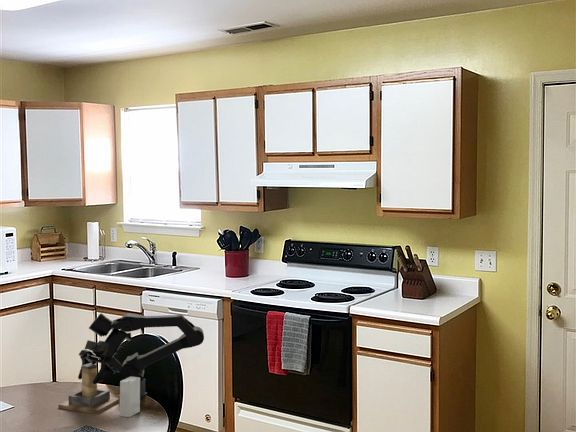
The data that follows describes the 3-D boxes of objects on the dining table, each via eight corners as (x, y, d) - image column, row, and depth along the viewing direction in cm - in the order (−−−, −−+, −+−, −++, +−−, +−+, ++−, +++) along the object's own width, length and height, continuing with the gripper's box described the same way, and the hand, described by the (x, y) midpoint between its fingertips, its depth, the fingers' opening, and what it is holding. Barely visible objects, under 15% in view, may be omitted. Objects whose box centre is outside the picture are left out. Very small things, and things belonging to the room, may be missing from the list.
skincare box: (129, 410, 225) (129, 375, 224) (140, 412, 223) (140, 377, 222) (118, 416, 219) (118, 380, 218) (130, 418, 217) (130, 382, 217)
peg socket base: (119, 401, 233) (119, 390, 233) (98, 413, 221) (98, 401, 220) (81, 396, 238) (81, 385, 238) (58, 408, 226) (58, 396, 225)
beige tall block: (90, 399, 232) (90, 363, 231) (96, 401, 230) (96, 364, 229) (82, 401, 229) (81, 365, 228) (88, 404, 227) (88, 367, 226)
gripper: (83, 327, 237) (56, 363, 229) (115, 335, 225) (88, 374, 217) (101, 344, 243) (75, 380, 235) (133, 353, 232) (107, 391, 224)
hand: (86, 381), depth 228 cm, fingers open, 8 cm apart
